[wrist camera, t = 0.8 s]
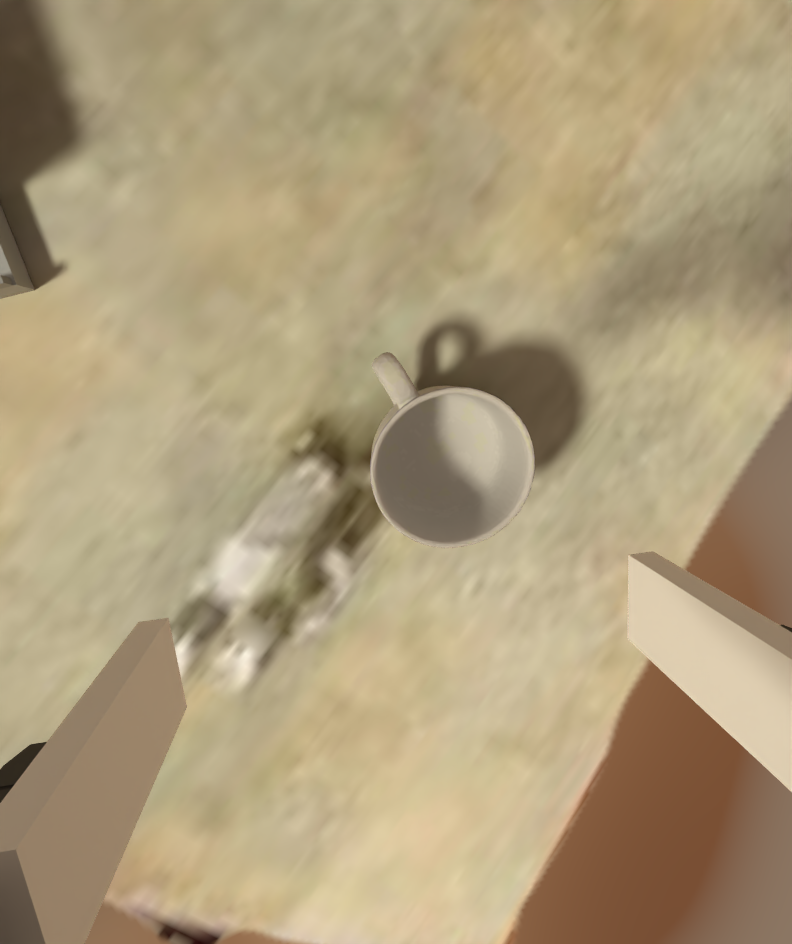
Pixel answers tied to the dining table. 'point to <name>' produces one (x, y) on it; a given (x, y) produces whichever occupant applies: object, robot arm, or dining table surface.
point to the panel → (11, 263)
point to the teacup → (448, 461)
